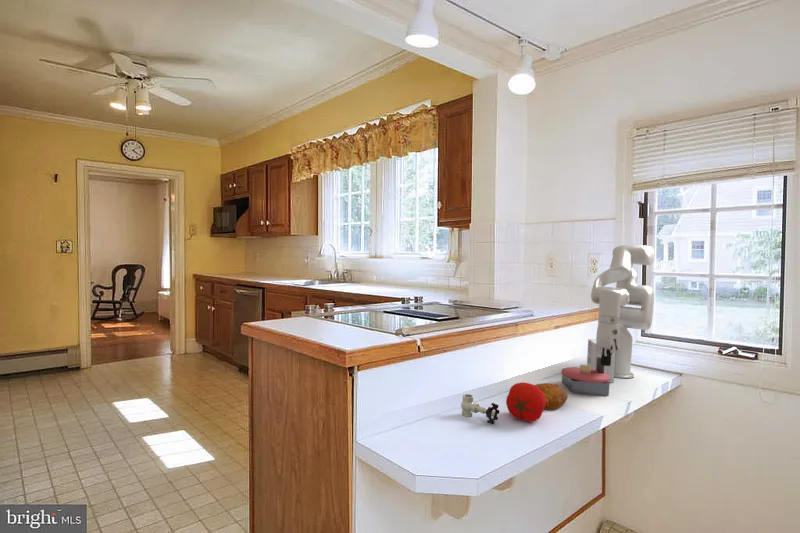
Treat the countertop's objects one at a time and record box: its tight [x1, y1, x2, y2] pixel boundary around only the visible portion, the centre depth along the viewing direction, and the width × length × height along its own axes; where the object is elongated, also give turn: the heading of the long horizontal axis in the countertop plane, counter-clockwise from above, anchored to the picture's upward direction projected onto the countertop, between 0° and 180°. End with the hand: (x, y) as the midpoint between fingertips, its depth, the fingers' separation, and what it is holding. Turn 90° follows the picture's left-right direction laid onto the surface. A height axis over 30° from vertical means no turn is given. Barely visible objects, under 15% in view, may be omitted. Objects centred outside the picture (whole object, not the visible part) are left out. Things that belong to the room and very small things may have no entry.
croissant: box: [534, 382, 568, 410], centre depth 164 cm, size 14×16×8 cm
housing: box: [561, 374, 610, 397], centre depth 182 cm, size 14×14×5 cm
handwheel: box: [561, 357, 610, 383], centre depth 182 cm, size 18×18×7 cm
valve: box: [460, 393, 501, 425], centre depth 145 cm, size 7×7×12 cm
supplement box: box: [586, 338, 615, 384], centre depth 198 cm, size 10×9×17 cm
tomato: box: [505, 382, 546, 423], centre depth 147 cm, size 13×13×13 cm
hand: (605, 365), depth 181 cm, fingers closed
